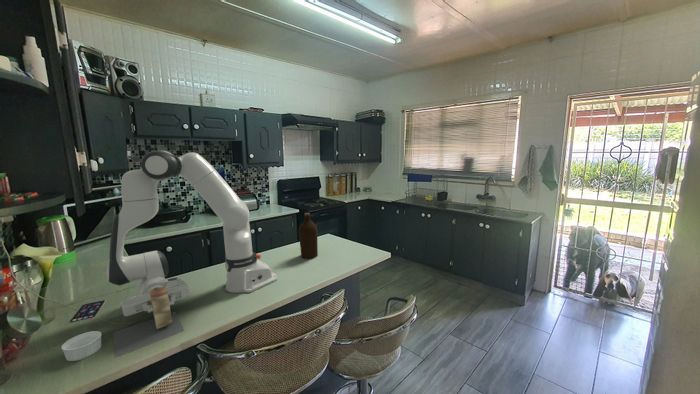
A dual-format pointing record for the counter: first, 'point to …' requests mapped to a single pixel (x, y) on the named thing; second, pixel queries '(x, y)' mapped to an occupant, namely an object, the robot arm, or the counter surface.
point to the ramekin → (82, 345)
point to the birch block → (161, 307)
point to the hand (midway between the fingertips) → (161, 306)
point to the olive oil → (308, 238)
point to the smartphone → (87, 311)
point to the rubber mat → (144, 335)
